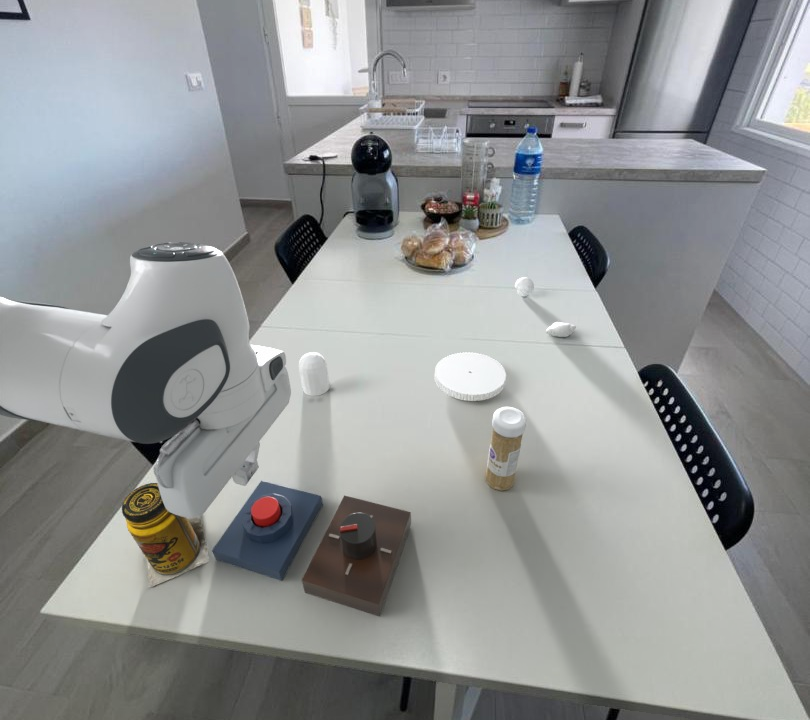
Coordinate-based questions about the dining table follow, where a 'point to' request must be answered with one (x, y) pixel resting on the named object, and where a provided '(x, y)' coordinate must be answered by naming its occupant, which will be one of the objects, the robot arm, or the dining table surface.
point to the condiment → (163, 535)
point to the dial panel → (358, 578)
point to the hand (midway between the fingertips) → (247, 476)
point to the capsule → (314, 374)
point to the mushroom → (524, 286)
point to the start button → (265, 511)
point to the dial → (358, 535)
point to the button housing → (269, 532)
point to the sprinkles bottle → (504, 447)
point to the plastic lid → (470, 376)
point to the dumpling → (561, 329)
